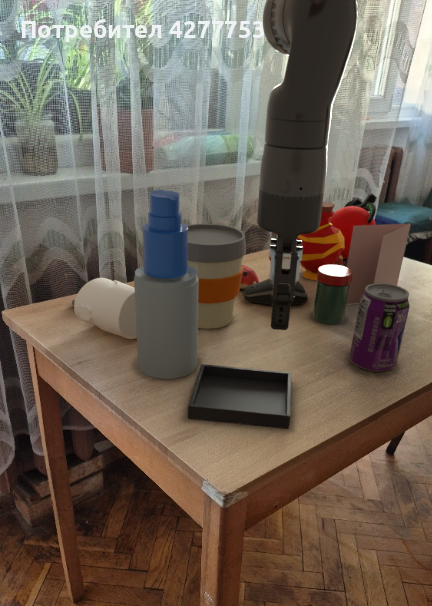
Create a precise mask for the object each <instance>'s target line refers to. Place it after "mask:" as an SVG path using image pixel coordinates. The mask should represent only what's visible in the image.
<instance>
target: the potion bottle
mask: <svg viewBox="0 0 432 606" xmlns="http://www.w3.org/2000/svg"><path fill="white" fill-rule="evenodd" d="M335 206H336V204H334V203H332V202H326V201H323V204H322V212H321V220H320V226H319V228H318V229H317V230H316V231H315V232H312V233H309V234H301V235H299V236H298V237H297V240H300V241H302V247H303V251H302V259H301V261H300V263H299V264H300V265H301V267H302V268H303V269H304V270H305V271H304V273H303V274H302V276H303V277H304V278H306V279H307V280H313V281H317V274H318V268H319V267H320V266H323V265H335V262H336V261H337V259H338V258H339V257H340V255H341V252H342V250H343V249H345V245H344V237H343V235H342V233H341V231H340V230H339V229H337V228H335V227H334V226H332V224H331V223H329V220H330V217H332V216H333V215H334V213H335V211H334V208H335Z"/></svg>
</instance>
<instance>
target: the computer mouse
mask: <svg viewBox="0 0 432 606" xmlns="http://www.w3.org/2000/svg"><path fill="white" fill-rule="evenodd" d="M272 292H273V284H272V283H271V282H270V278H266V279H264V280H262V281H259V283H256V284H254V285H251V286H249V287H247V288H246V289H244V291H243V296H244V299H245V301H247V302H249V303H253V304H263V305H272V303H273V302H272V299H271V294H272ZM294 296H295V299H294V301H293V304H291V306H294V305H295V306H296V305H302V304H305V303H306V302H307V301H308V299H309V296H308V293H307V290H306V289H305V287H304V285H303V284H302V283H301V282H299V281H298V282H297V284H295V288H294Z"/></svg>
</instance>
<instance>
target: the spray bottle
mask: <svg viewBox="0 0 432 606" xmlns="http://www.w3.org/2000/svg"><path fill="white" fill-rule="evenodd" d="M186 225H187V224H184V223H183V214H182V212H181V211H180V193H179V192H177V191H175V190H174V191H173V190H164V189H155V190H152V191H151V192H150V193H149V211H148V212H147V223H145V224H144V225H143V226H142V227H141V228H142V250H143V251H142V254H143V265H141V266H139V267H137V268H136V270H135V271H134V276H133V287H134V291H135V311H136V332H137V338H136V349H137V351H136V352H137V366H138V369H139V370H140V372H141V373H142V374H144V375H146V376H148V377H149V378H155V379H160V380H176V379H179V378H184V377H186V376H188V375H191V374H192V373H193V372H194V371H196V369H197V366H198V339H199V337H198V335H199V334H198V333H199V331H198V330H199V328H198V282H199V279H198V276H197V271H196V269H194V268H193V267H191V266H189V265H188V228H187V226H186Z"/></svg>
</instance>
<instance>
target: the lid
mask: <svg viewBox="0 0 432 606" xmlns="http://www.w3.org/2000/svg"><path fill="white" fill-rule="evenodd" d="M352 273H353V272H352V270H351V269H349V268H347V266H344V265H343V266H340V265H335V264H333V265H323V266H320V267H319V268H318V274H317V280H318V281H319V282H321V283H323V284H327V285H331V286H345V285H348V284H350V283H351V281H352ZM317 280H316V281H317Z"/></svg>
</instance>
